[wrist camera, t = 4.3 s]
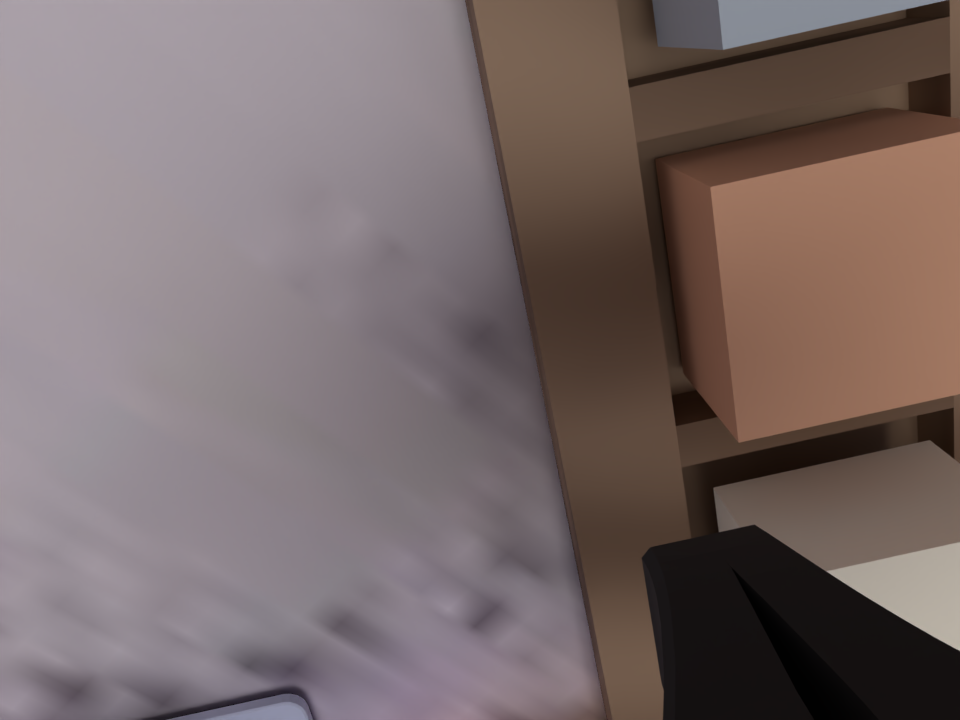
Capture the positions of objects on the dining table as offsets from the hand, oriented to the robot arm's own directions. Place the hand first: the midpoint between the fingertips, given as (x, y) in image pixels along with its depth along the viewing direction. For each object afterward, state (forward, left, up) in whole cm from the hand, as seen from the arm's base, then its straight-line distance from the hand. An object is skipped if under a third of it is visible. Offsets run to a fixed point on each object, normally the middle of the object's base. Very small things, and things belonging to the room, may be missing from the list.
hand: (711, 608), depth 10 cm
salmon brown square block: (+1, -5, -9) cm, 11 cm away
